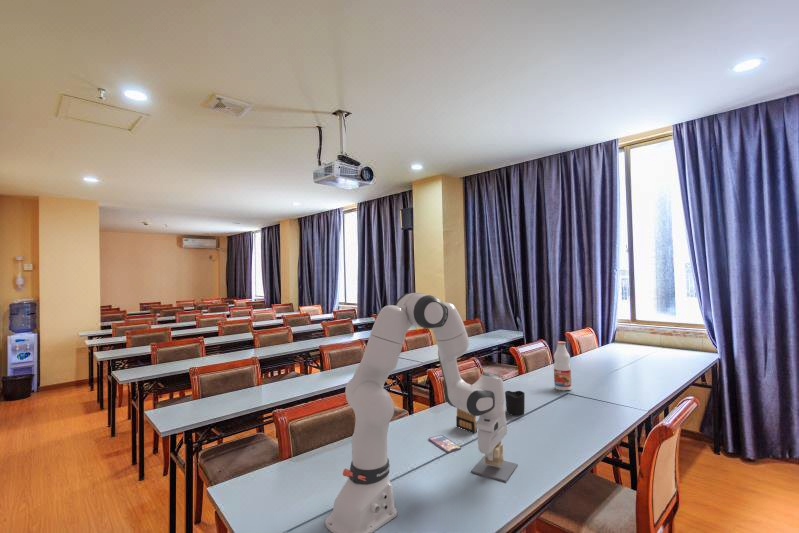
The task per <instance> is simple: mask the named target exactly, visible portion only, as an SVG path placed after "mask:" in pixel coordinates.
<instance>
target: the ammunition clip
mask: <svg viewBox="0 0 799 533" xmlns="http://www.w3.org/2000/svg"><path fill="white" fill-rule="evenodd" d="M476 417H477V416H474V415H471V414H469V413H467V412H464V411H463V410H461V409H459V408H456V417H455V418H456V420H455V421H456V422H455V423H456V426H457V427H456V428H458V427H460V428H459V429H461V428H462V429H461V430H463V429H465V430H464V431H466V430H467V431H466V432H469V431H470V432H469V433H471V432H472V433H471V434H474V433H475V434H476V432H477V433H478V429H477V428H476V423H477V420H476Z"/></svg>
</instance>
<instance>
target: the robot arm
mask: <svg viewBox="0 0 799 533" xmlns="http://www.w3.org/2000/svg"><path fill="white" fill-rule="evenodd" d="M412 326H413V327H417V328H423V329H428V330H429V329H431V330H432V332H433V336H434V339H435V342H436V345H437V356H438V360H439V365H440V370H441V373H442V377H443V382H444V397H445V401H446V402H447V403H448V404H449V406H451V407H453V408H456V409H457V408H459V409H461V410H463V411H464V412H467V413H469V414H471V415H474V416H476V417H478V419H477V420H476V428H477V446H478V451H479V453H480V454H484V455H485V454H488V460H491V461H492V460H493V459H494V454H493V449H494V448H495V447H496V446H497V444H498V443H499V444H502V441H503V439H504V438H505V437H506V436H507V432H508V429H507V428H508V424H507V417H506V407H505V405H504V403H505V400H506V398H505V385H504V381H503V378H502V377H501V376H500V375H498V374H495V373H491V372H490V373H489V372H483V373H481V375H480V377H479V378H478V379H477V380H476V381H475V382H474V383H473V384H470V383H468V382H466V381H465V380H464V379H463V378H462V377H461V375H460V370H459V366H458V361H457V359H458V358H460V357H462V356H463V355H464V354H465V353H466V352H467V351H468V350H469V346H470V343H469V342H470V341H469V339H470V338H469V335H468V332H467V329H466V327H465V323H464V321H463V319H462V317H461V315H460V313H459V311H458V310H457V307H456V306H455V305H454V304H453V303H450V302H443V301H442V300H440V298H438V297H436V296H435V295H431V294H425V293H422V292H407V293H404V294H402V295H401V296H399V297H398V299H397V300H396V302H394V303H393V304H388V305H385V306H384V307H382V308H380V311H379V312H378V315H377V317H376V319H375V320H374V323H373V326H372V328H371V331H370V333H369V337H368V341H367V343H366V347H365V349H364V353H363V356H362V358H361V360H360V363H359V364H358V367H357V369H356V371H355V372H354V374H353V376H352V377H351V379H350V380H349V381H348V382H347V383H346V385H345V398H346V402H347V404H348V405H349V407H351V409H352V411H353V412H354V415H355V416H354V418H355V423H354V431H353V434H352V435H351V455H352V460H351V463H350V467H349V469H348V468H344V469H343V471H342V476H344V477H346V478H347V480H345V481H346V482H345V483H344V485H343V486H342V488H341V489H340V491H339V492H338V495H337V496H336V498H335V499H334V502H333V509H332V512H331V513H330V514H329V515H328V516H327V517H326V519H325V521H324V525H325V527H326V528H327V529H328V531H329V532H331V533H373V532H376V530H378V529H380V528H381V527H383V526H384V525H385V524H387V523H388V522H390V521H391V520H394V518H396V517H398V510H397V508H396V507H395V500H394V499H395V498H394V493H393V492H394V491H393V485H392V483H391V479H390V475H389V474H390V466H391V464H390V458H389V456H388V432H389V425H390V421H391V420H392V418H393V416H394V414H395V403H394V400H393V399H392V397H391V395H390V393H389V391H388V390H387V389H385V388H384V387H385V383H386V382H387V379H388V377H389V376H390V374H391V373H392V372H393V371H394V370H396V368H397V366H398V362H399V359H400V356H401V353H402V350H403V346H404V342H405V338H406V334H407V333H408V331H409V329H410V328H411V327H412Z"/></svg>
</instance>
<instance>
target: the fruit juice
mask: <svg viewBox="0 0 799 533" xmlns="http://www.w3.org/2000/svg"><path fill="white" fill-rule="evenodd" d="M556 345H557V346H556V350H555V352H554V354H553V359H554V363H553V382H554V384H553V386H554V389H555V388H556V389H555V390H557V389H559V390H558V391H560V390H570V391H571V390H572V389H573V388H572V366H571V362H570V361H571V356H570V353H569V352H568V349H567V348H566V347H567V346H566V345H567V343H566V341H561V340H560V341H557V342H556Z"/></svg>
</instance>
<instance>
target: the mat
mask: <svg viewBox="0 0 799 533" xmlns="http://www.w3.org/2000/svg"><path fill="white" fill-rule="evenodd" d="M518 466H519V464H518V463H514V462H510V461H507V460H504V459H503V462H502V463H501V465H500V466H499V467H497V466H493V465H490V464H486V463H485V455H483V456H482V457H481V458H480V460H479V461H478V462H477V463H476V464H475V465H474V466H473V468H472V469H471V470H470V473H472V474H475V475H479V476H483V477H486V478H489V479H493V480H497V481H501V482H504V483H508V481H509V480H510V478H511V476H512V475H513V474H514V472H515V470H516V469H517V468H518Z"/></svg>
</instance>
